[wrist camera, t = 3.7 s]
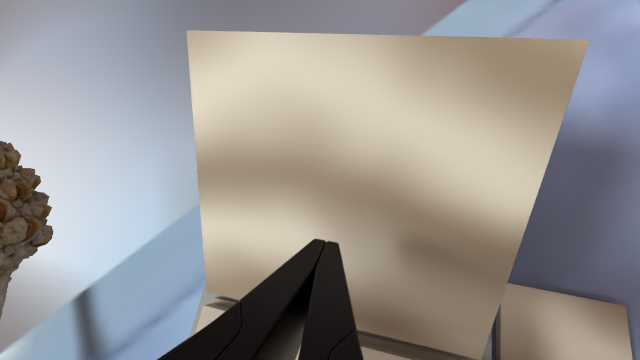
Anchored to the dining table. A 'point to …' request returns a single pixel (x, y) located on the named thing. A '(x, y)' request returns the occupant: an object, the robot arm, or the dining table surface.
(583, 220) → the dining table surface
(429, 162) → the board
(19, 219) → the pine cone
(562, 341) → the plank
